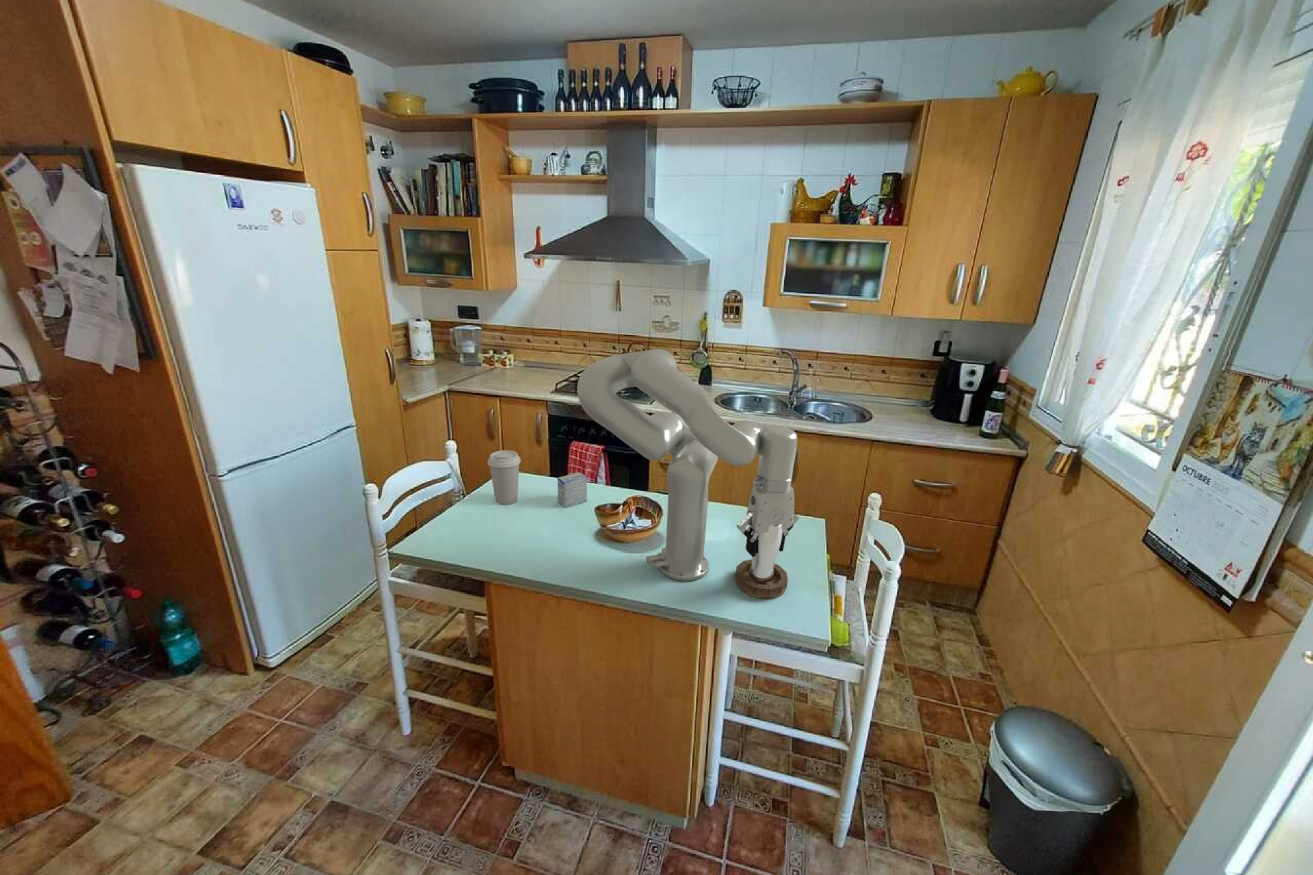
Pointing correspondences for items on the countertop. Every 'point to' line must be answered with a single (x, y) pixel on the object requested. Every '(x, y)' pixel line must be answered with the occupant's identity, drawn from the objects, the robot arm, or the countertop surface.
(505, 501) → the coffee cup
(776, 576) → the round tray
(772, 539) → the beer glass
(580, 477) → the medicine box
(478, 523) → the countertop surface
